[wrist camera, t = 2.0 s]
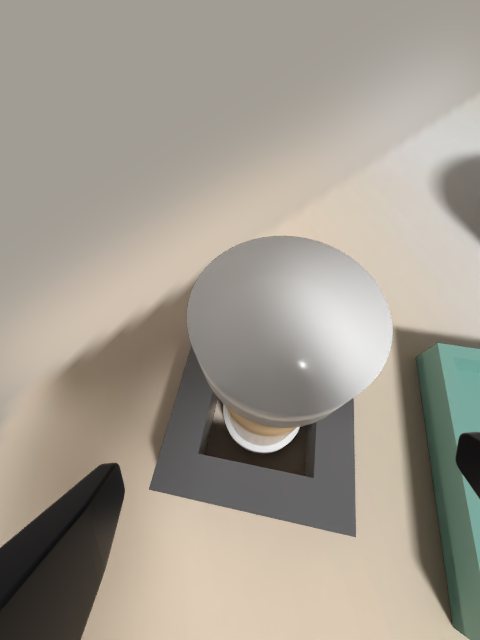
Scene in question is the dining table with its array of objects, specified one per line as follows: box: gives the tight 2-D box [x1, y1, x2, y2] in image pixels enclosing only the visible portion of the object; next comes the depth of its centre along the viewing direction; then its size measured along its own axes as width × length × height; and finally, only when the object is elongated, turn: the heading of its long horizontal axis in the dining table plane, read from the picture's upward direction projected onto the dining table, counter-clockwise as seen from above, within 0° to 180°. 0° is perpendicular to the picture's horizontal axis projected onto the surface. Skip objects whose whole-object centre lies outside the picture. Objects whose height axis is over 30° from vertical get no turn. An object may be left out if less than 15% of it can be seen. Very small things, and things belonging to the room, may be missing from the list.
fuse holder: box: [149, 346, 356, 537], centre depth 16 cm, size 10×10×2 cm
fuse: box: [187, 236, 393, 454], centre depth 12 cm, size 5×5×13 cm
